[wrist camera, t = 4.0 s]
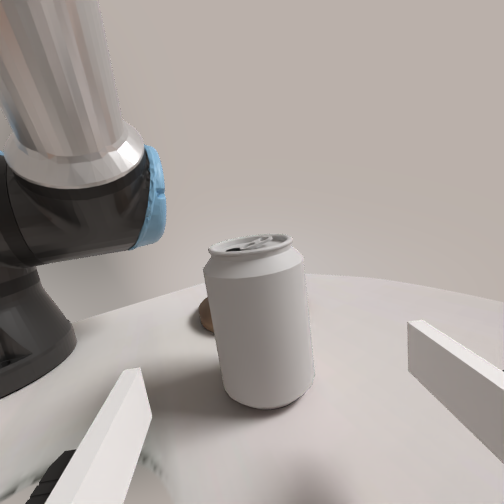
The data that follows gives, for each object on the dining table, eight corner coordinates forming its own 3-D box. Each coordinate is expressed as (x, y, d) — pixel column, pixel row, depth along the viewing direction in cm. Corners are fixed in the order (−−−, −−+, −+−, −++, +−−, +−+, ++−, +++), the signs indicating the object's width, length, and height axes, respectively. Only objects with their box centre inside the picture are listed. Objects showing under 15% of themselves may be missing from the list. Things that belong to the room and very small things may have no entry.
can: (214, 372, 25) (190, 243, 23) (288, 347, 28) (273, 227, 25) (241, 435, 18) (211, 259, 16) (336, 393, 21) (322, 235, 18)
